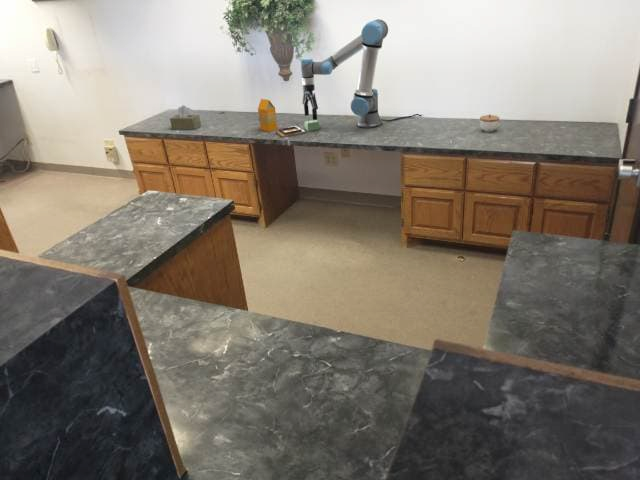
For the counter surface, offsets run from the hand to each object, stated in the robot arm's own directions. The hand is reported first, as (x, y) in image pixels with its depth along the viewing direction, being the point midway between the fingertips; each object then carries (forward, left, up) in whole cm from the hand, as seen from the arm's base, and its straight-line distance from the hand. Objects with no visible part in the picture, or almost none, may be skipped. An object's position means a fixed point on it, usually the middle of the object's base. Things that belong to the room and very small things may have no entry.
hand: (310, 117), depth 331 cm
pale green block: (0, 0, -8) cm, 8 cm away
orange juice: (+24, -18, -8) cm, 31 cm away
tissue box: (+71, -63, -8) cm, 95 cm away
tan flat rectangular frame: (+15, -1, -8) cm, 17 cm away
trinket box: (-83, +73, -8) cm, 111 cm away
